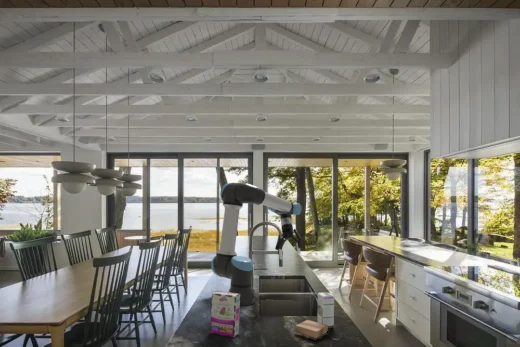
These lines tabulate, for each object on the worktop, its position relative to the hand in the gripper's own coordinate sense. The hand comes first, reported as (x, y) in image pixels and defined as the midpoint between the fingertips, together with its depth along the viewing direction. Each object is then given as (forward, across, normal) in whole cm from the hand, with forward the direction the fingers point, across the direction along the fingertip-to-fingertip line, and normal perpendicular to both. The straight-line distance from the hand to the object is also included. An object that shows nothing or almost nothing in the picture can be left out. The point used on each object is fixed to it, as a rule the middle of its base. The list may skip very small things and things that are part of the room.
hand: (289, 256), depth 228 cm
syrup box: (+52, -34, +29) cm, 68 cm away
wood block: (+57, -33, +40) cm, 77 cm away
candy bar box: (+56, -7, +66) cm, 87 cm away
